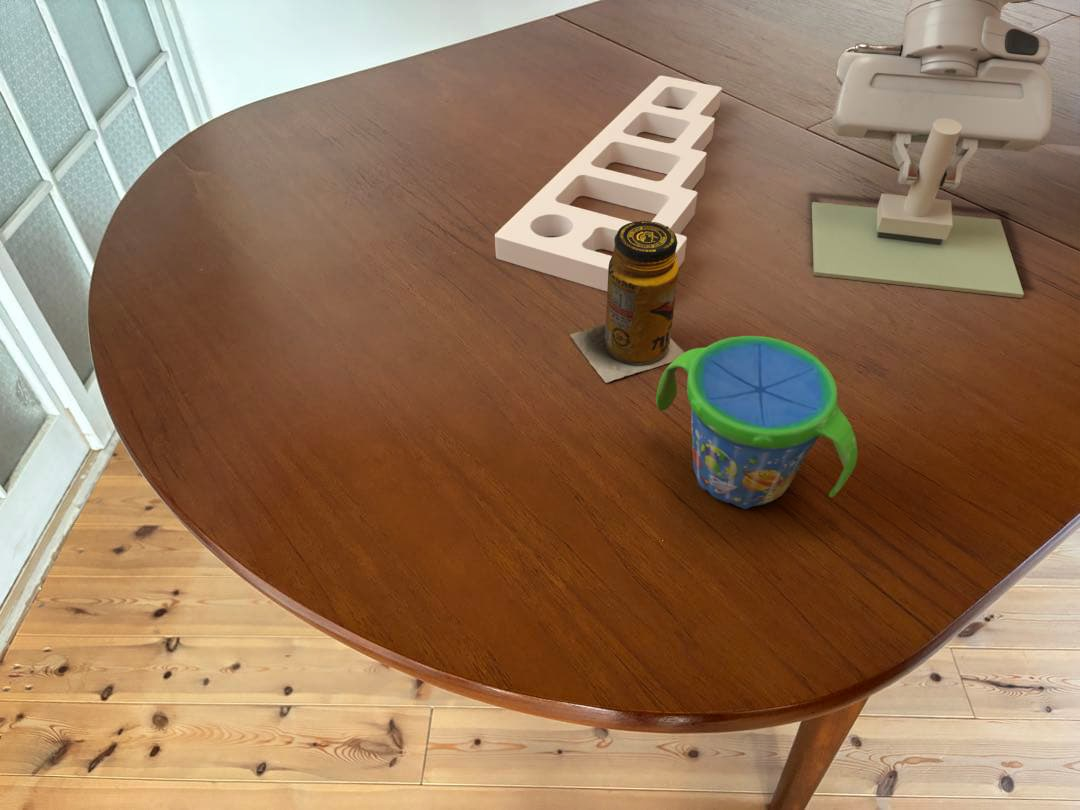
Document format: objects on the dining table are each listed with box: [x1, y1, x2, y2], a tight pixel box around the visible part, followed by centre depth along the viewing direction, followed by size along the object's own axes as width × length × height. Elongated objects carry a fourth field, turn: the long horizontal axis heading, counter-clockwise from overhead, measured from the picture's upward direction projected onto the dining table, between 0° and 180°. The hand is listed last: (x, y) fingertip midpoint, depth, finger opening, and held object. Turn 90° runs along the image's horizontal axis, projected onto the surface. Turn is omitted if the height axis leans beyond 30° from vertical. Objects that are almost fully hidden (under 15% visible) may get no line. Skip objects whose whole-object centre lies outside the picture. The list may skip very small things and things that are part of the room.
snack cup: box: [655, 335, 858, 510], centre depth 65 cm, size 16×10×10 cm
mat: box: [811, 201, 1025, 299], centre depth 91 cm, size 20×14×1 cm
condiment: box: [569, 220, 686, 383], centre depth 76 cm, size 7×8×12 cm
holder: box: [494, 75, 723, 292], centre depth 101 cm, size 45×18×3 cm, turn 152°
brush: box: [876, 118, 962, 245], centre depth 87 cm, size 7×4×13 cm, turn 76°
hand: (928, 184), depth 86 cm, fingers closed on brush, 3 cm apart
